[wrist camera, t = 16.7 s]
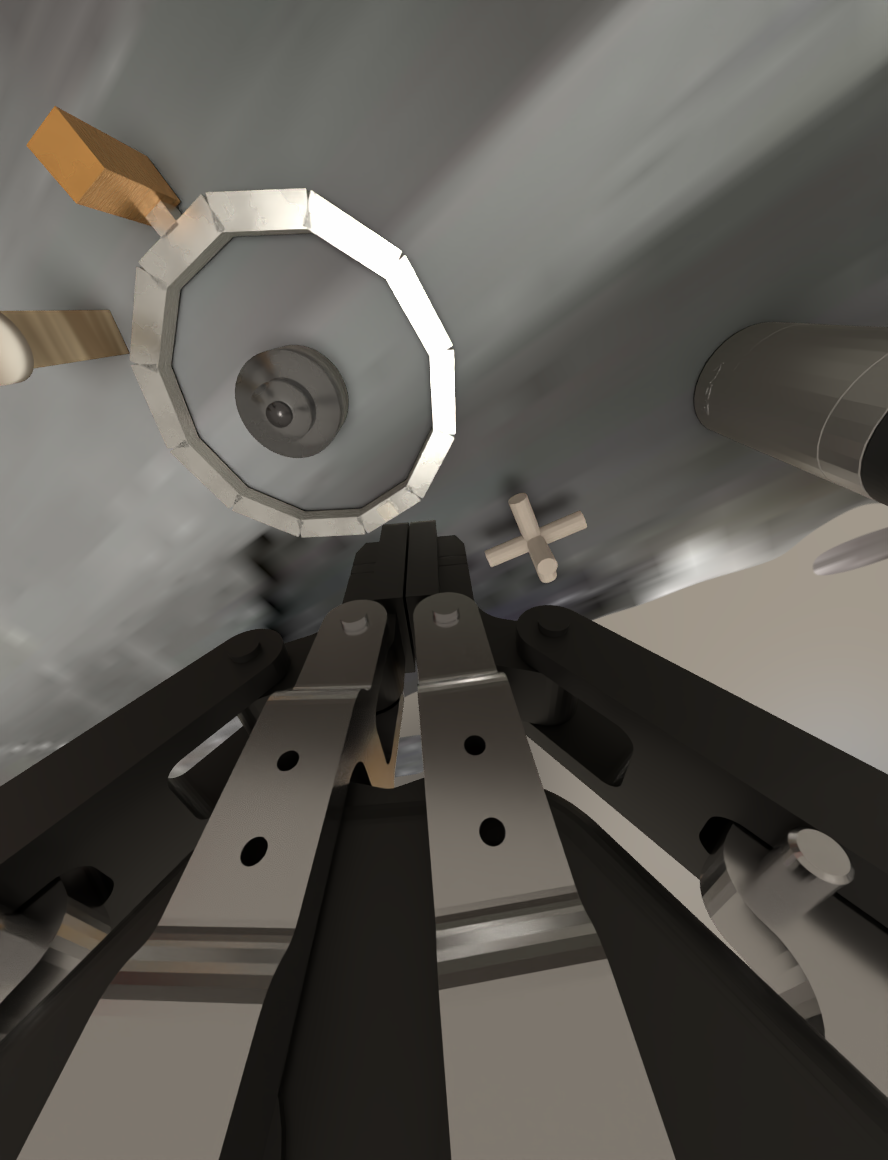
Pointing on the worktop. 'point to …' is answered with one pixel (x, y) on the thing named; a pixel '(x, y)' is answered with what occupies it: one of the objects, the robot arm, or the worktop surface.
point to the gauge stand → (54, 340)
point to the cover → (292, 400)
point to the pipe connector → (535, 538)
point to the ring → (187, 243)
